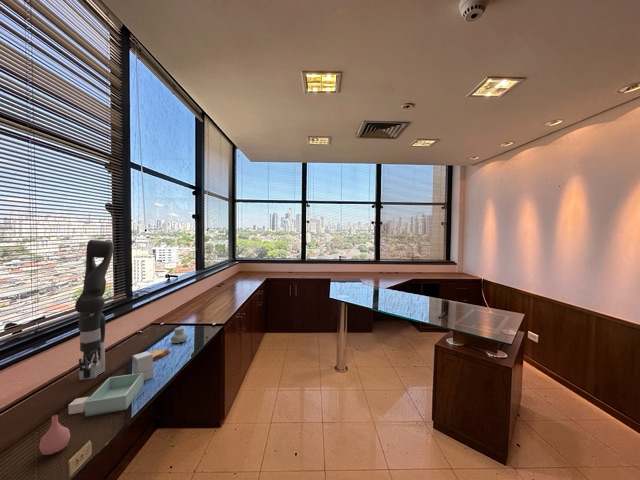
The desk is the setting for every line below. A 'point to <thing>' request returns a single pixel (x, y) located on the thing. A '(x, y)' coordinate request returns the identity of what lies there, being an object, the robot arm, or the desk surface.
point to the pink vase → (54, 438)
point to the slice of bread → (159, 353)
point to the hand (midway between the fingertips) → (90, 374)
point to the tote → (114, 394)
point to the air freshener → (179, 335)
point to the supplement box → (143, 364)
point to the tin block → (92, 371)
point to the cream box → (77, 405)
